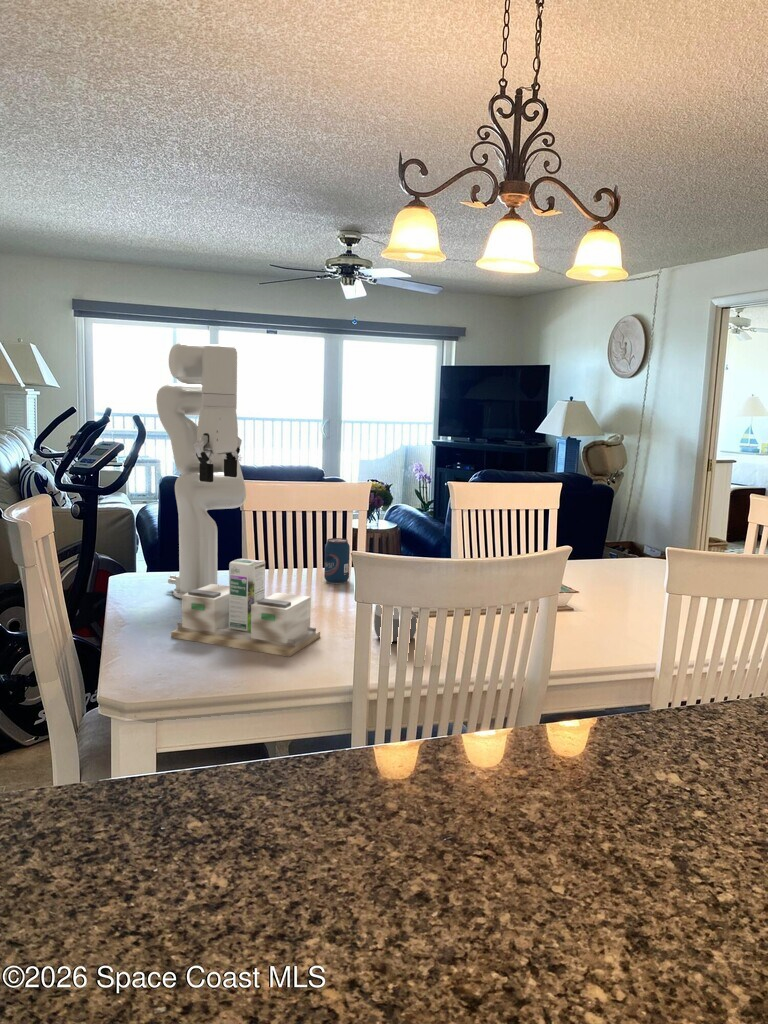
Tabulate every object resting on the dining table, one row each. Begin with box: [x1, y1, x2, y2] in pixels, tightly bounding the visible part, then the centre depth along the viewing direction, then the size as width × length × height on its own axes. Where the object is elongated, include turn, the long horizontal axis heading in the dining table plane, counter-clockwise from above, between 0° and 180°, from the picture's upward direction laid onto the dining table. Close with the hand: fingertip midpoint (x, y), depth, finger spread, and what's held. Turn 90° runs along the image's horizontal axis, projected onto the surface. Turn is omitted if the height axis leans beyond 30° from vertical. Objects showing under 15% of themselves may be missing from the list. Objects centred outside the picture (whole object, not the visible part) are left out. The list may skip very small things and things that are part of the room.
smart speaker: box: [373, 604, 418, 644], centre depth 158 cm, size 10×9×14 cm
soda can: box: [324, 537, 351, 585], centre depth 207 cm, size 7×7×12 cm
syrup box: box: [228, 558, 266, 632], centre depth 156 cm, size 6×6×14 cm
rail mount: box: [170, 584, 321, 657], centre depth 156 cm, size 28×14×10 cm, turn 70°
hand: (218, 479), depth 165 cm, fingers open, 9 cm apart
